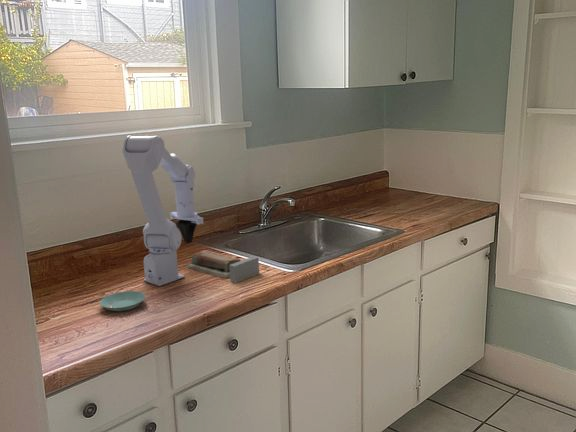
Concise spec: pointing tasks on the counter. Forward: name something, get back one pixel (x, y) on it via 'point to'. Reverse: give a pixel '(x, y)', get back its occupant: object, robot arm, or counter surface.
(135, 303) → the saucer
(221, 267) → the packaged product
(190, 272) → the counter surface
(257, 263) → the board
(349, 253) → the counter surface
